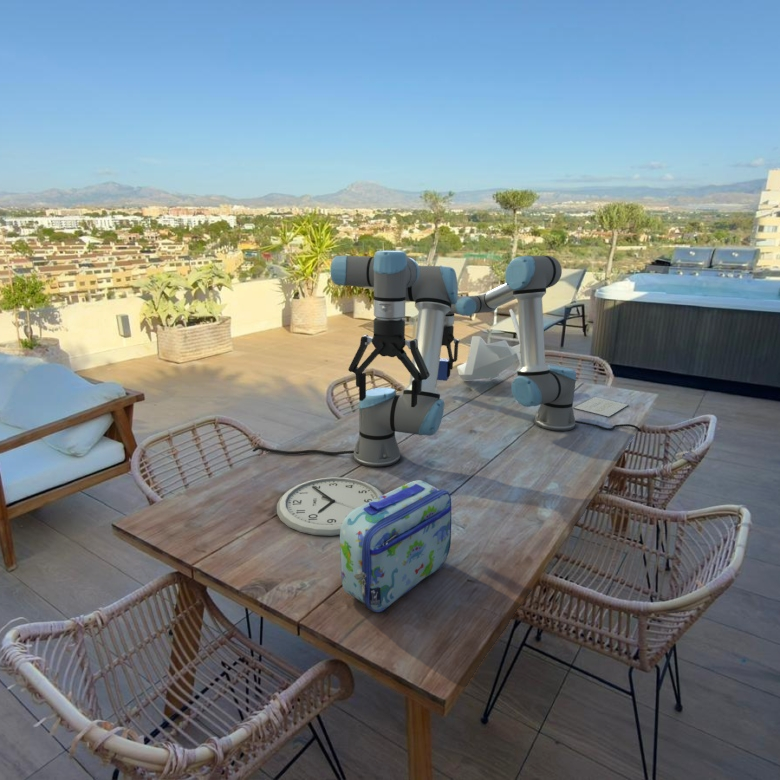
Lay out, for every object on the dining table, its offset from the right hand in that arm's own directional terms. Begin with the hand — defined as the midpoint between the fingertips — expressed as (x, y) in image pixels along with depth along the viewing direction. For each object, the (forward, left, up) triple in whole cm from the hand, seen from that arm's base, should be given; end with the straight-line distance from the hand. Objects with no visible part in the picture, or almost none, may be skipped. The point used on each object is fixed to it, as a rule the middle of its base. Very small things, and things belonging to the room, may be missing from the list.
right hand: (442, 375), depth 238 cm
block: (0, 0, -2) cm, 2 cm away
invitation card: (-69, +7, -9) cm, 70 cm away
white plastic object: (-26, -14, -9) cm, 30 cm away
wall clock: (+27, +106, -9) cm, 110 cm away
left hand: (+12, +108, +22) cm, 111 cm away
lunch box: (+6, +136, -9) cm, 137 cm away
